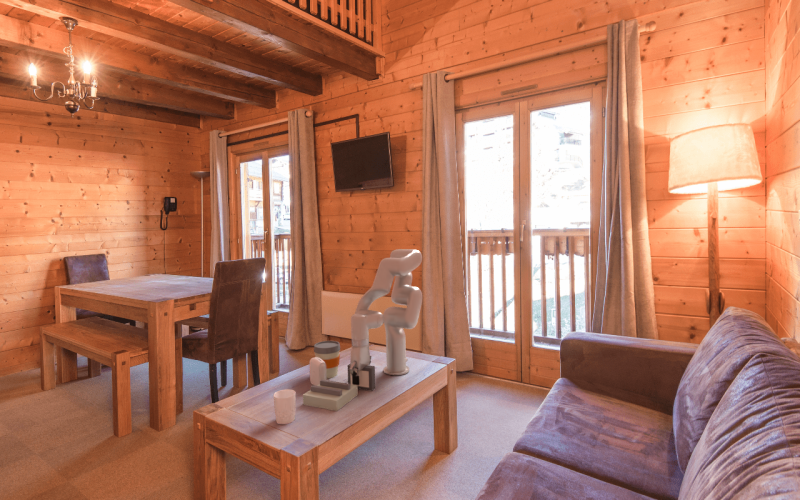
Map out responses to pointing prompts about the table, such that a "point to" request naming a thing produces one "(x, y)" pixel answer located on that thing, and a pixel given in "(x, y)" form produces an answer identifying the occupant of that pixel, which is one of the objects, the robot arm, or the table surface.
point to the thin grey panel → (364, 378)
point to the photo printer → (317, 371)
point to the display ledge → (330, 395)
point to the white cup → (285, 406)
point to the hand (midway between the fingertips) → (361, 380)
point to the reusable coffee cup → (329, 356)
